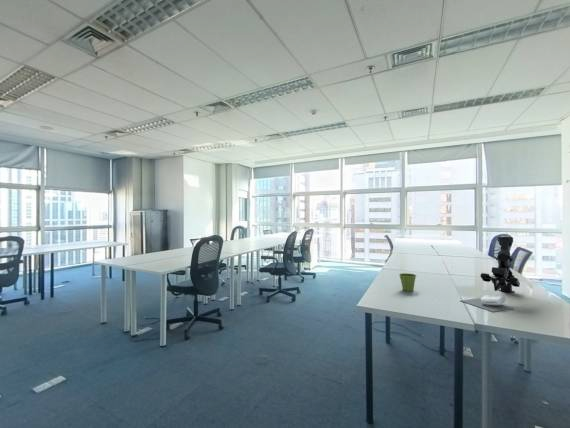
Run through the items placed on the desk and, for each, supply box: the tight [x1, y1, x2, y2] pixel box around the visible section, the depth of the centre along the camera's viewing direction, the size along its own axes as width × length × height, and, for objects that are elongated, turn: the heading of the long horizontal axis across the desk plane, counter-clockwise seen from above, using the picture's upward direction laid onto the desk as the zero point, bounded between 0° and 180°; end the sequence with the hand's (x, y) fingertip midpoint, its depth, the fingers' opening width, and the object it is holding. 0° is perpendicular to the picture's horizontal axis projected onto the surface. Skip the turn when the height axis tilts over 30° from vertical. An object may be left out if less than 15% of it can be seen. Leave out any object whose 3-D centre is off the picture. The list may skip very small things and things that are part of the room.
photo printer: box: [481, 294, 507, 305], centre depth 157 cm, size 10×4×12 cm
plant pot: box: [398, 272, 417, 292], centre depth 191 cm, size 12×12×11 cm
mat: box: [460, 297, 515, 313], centre depth 158 cm, size 16×20×1 cm
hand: (495, 290), depth 160 cm, fingers closed
